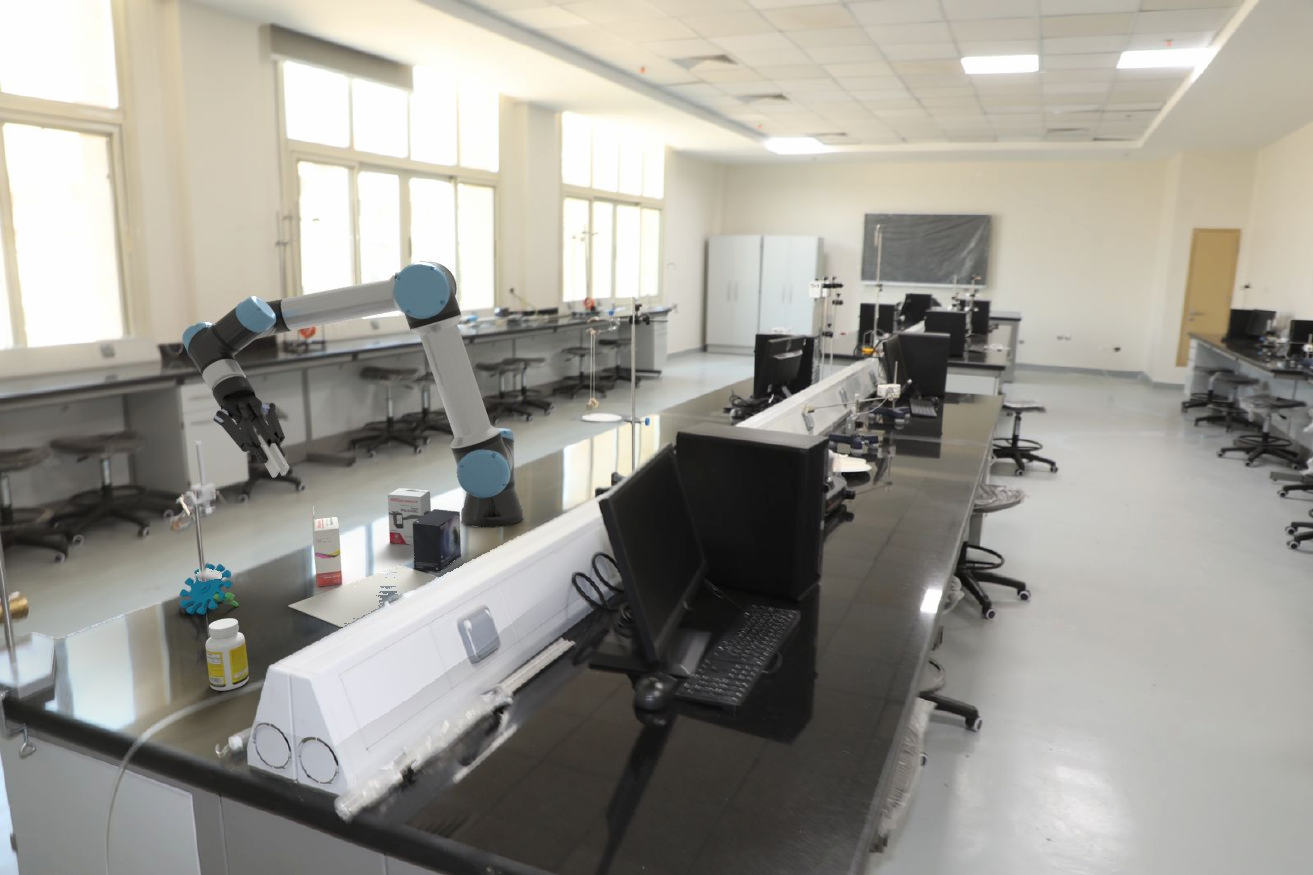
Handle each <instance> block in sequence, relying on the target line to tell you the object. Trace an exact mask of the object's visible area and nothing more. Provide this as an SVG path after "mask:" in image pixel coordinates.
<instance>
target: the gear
mask: <svg viewBox="0 0 1313 875" xmlns="http://www.w3.org/2000/svg"><path fill="white" fill-rule="evenodd" d="M206 567H207V568H209V569H212V570H213V571H214V570H217V571H220V572H219V573H221V574H222V578H221V579H214V580H209V581H206V582H201V581H199V580H198V578H197V576H196V574H197V572H199V569H200V568H198V569H196V570H194V575H195V580H194V579H193V578H191V577H188V578H187V579H186V580H185V581H184V585H187V586H189V587H190V591H188V590H186V589H184V588H182V589H181V590H180V592H179V596H180V597H181V598H187V597H190V599H188V600H186V599H182V600H180V602H179V603H180V607H181V608H183V609H185V611H186V612H187V613H188V614H190V615H194V614H195V613H197V614H199V615H203V616H204V615H205V614H206V613H207V607H208V609H209V610H213V611H214V610H215V609H217V608H219V607H218V606H219V605H218V603H217V602H221V603H223V604H226V605H231V606H234V607H238V606H239V605H240V604H239V603H238V602H237V601H235V600H234V599H235V597H236V596H235V594H233V593H232V592H230V591H227V592H224V591H222V587H223V586H224V588H226V589H231V587H232V585H233V584H234V583H233V581H231V580H224V581H222V580H223V578H226V579H230V578H231V577H232V571H231V570H229V569H226V566H224V565H222V564H221V563H219V564H218V565H216V566H215V565H213V564H212V563H207V564H206ZM206 567H205V568H206ZM192 604H193V605H192Z"/></svg>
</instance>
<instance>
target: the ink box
mask: <svg viewBox="0 0 1313 875" xmlns="http://www.w3.org/2000/svg"><path fill="white" fill-rule="evenodd" d="M431 507H432V505H431V491H430V490H427V489H416V488H404V487H403V488H402V487H399V488H396V489H395V490H393V491H391V492H389V493H388V494H387V508H388V510H387V511H388V532H389V543H391V544H402V545H410V546H411V545H412V546H413V522H414V521H416V520H418V519H419V518H421V517H423V516H424V515H426V514H428V513H429V512H431V511H432V508H431Z"/></svg>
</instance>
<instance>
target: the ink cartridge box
mask: <svg viewBox="0 0 1313 875" xmlns="http://www.w3.org/2000/svg"><path fill="white" fill-rule="evenodd" d="M339 524H340V523H339V519H338V517H337V516H335V517H333V516H332V517H325V518H317V519H316V518H315V505H312V538H313V539H312V541H313V554H314V556H313V557H314V565H315V567H314V568H315V577H316V584H317V587H318V588H319V587H328V586H336V585H342V584H343V575H342V574H343V572H342V559H341V558H342V557H341V540H340V539H341V538H340V535H341V534H340V525H339Z"/></svg>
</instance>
